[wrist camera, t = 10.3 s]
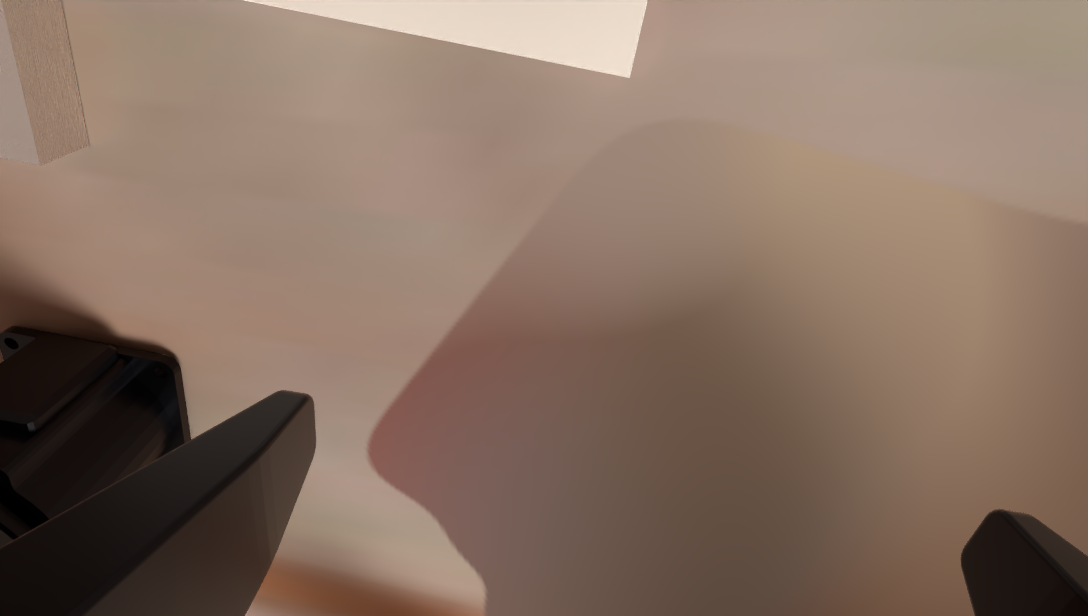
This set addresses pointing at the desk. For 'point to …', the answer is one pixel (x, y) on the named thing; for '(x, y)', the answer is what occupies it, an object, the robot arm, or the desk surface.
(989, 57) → the desk surface
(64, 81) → the grey flat square frame
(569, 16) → the mat
